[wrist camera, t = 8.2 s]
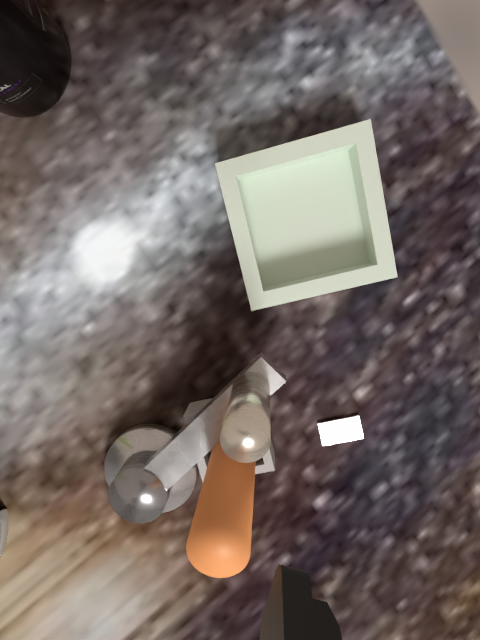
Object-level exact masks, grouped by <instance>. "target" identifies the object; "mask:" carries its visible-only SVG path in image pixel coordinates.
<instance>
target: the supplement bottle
mask: <svg viewBox="0 0 480 640" xmlns="http://www.w3.org/2000/svg"><path fill="white" fill-rule="evenodd" d="M69 76H70V52H69V47H68V44H67V41H66V38H65V35H64V33H63V31H62V29H61V27H60V25H59V24H58V23H57V21H56V20H55V18H54V17H53V16H52V15H51V13H50V12H49V11H48V10H47V9H46V8H45V7H44V5H43V4H42V3H41V2H40V1H39V0H0V112H1V113H4V114H7V115H10V116H14V117H33V116H37V115H39V114H42V113H44V112H46V111H47V110H49V109H50V108H52V107H53V106H54V105H55V104H56V103H57V102H58V101H59V99H60V98H61V96H62V95H63V93H64V91H65V89H66V87H67V84H68V80H69Z"/></svg>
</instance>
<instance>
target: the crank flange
mask: <svg viewBox="0 0 480 640" xmlns="http://www.w3.org/2000/svg"><path fill="white" fill-rule="evenodd" d="M318 427H319V432H320V436H321V441H322V445H323V446H326V445H332V444H337V443H342V442H348V441H353V440H359V439H364V436H363V431H362V427H361V422H360V417H359V415H355V416H350V417H345V418H339V419H334V420H329V421H324V422H318ZM176 433H177V431H175V430H173V429H171V428H169V427H166V426H164V425H159V424H140V425H136V426H133V427H131V428H129V429H127V430H126V431H124V432H123V433H122V434H121V435H120V436H119V437H118V438H117V439H116V440H115V442H114V443H113V444H112V446H111V447H110V449H109V450H108V452H107V455H106V458H105V463H104V472H105V477H106V481H107V483H108V486H109V487H110V485H111V483H112V481H113V480H114V478H115V477H116V475H117V473H118V472H119V470H120V469H121V467H122V466H123V464H124V463H125V461H126V460H127V458H128V457H130V456H131V455H132V454H134V453H136V452H140V451H152V452H157V451H158V450H159V449H160V448H161V447H162V446H163V445H164V444H166V443H167V442H168V441H169V440H170V439H171V438H172V437H173V436H174V435H175V434H176ZM197 475H198V465H197V463H196V464H195V465H194V466H193V467H192V468H191V469H190V470H189V471H188V472H187V473H185V474H184V475H183V476H182V477H181V478H180V479H179V480H178V481H177V482H176V483H175V484H174V485H173V488H172V490H171V493H170V495H169V498H168V500H167V503H166V506H165V508H164V510H163V512H162V513H164V512H168V511H171V510H174V509H175V508H177V507H179V506H180V505H182V504H183V503H184V502H185V501H186V500H187V499H188V498H189V496H190V495H191V493H192V491H193V488H194V486H195V482H196V479H197Z"/></svg>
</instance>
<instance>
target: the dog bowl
mask: <svg viewBox="0 0 480 640" xmlns="http://www.w3.org/2000/svg"><path fill="white" fill-rule="evenodd" d="M7 534H8V511H7V509H3V510H0V557H1V555H2V552H3V550H4V547H5V544H6V540H7Z"/></svg>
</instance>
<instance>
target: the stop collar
mask: <svg viewBox="0 0 480 640" xmlns="http://www.w3.org/2000/svg"><path fill="white" fill-rule="evenodd" d="M212 399H213V398H210V399H205V400H200V401H196V402H191V403H190V404H189V406H188V408H187V410H186V412H185V414H184V416H183V418H184V422H185V424H187V423H188V422H189V421H190V420H191V419H192V418H193V417H194V416H195V415H196V414H197V413H198V412H199V411H200V410H201V409H202V408H203V407H204V406H205V405H206V404H208V403H209V402H210V401H211V400H212ZM211 451H212V450H211ZM211 451H210V452H208V453H207V454H206V455H205V456H204V457H203V458H202V459H201V460H200V461H199V462H197V465H198V468H199V472H200V475H201V478H202V482H203V481H204V477H205V473H206V470H207V466H208V462H209V459H210V455H211ZM269 471H275V455H274V449H273V445H272V441H270V447H269V450H268V451H267V453H266V454H265V455H264V456H263V457H262V458H261V459H259V460H257V461H256V464H255V474H258V473H264V472H269Z"/></svg>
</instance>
